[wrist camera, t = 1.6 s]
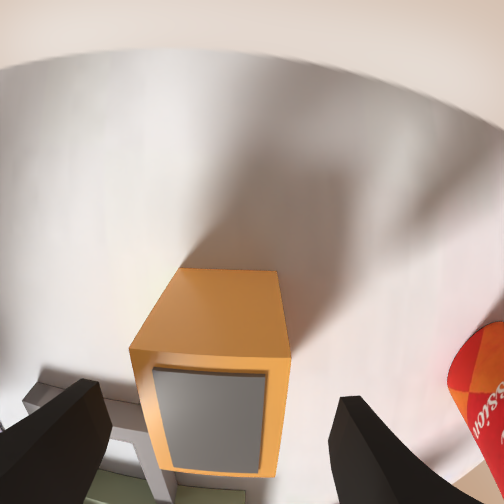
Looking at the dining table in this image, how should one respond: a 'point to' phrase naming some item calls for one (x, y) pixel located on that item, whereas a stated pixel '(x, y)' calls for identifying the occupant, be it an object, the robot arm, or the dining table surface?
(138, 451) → the green block with knob
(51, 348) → the dining table surface
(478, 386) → the paper cup
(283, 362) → the chute block
